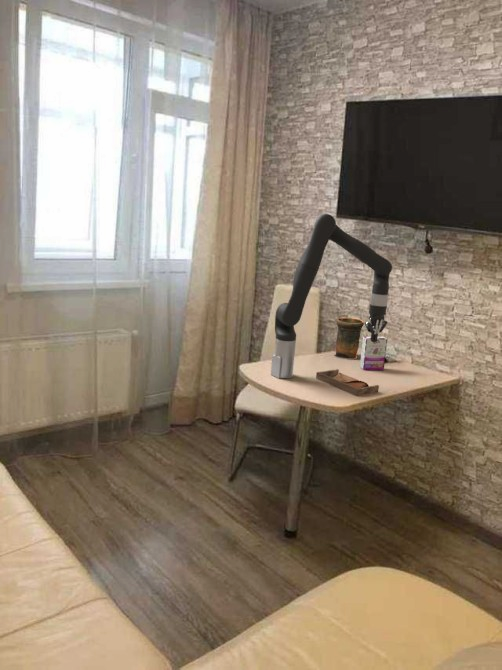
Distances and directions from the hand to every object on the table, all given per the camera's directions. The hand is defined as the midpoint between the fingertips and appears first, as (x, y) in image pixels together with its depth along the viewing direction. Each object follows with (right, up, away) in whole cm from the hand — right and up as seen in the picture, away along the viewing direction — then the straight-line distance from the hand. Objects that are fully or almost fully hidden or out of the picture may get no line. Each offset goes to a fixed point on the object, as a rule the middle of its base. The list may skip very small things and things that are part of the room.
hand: (373, 341), depth 251 cm
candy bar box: (+5, -14, +25) cm, 29 cm away
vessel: (-4, -9, +46) cm, 47 cm away
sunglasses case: (-13, -20, -4) cm, 24 cm away
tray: (-13, -19, -4) cm, 24 cm away
